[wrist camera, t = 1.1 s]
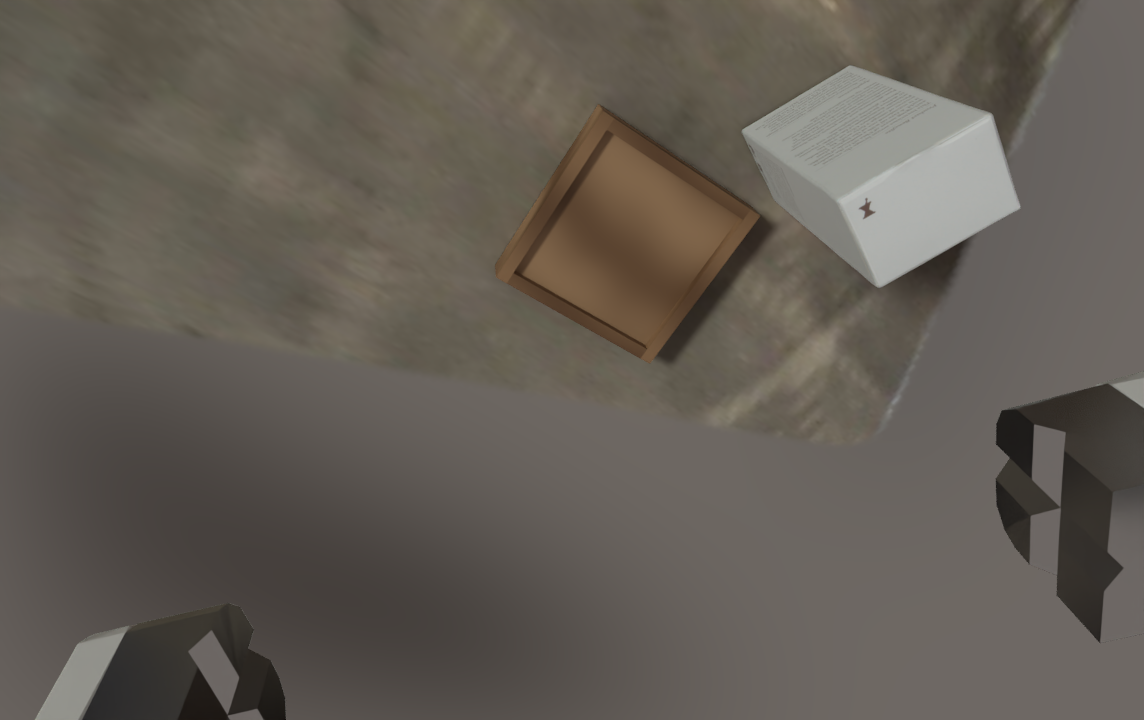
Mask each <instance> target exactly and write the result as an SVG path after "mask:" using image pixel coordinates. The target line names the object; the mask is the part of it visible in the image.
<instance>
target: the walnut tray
mask: <svg viewBox="0 0 1144 720" xmlns="http://www.w3.org/2000/svg"><path fill="white" fill-rule="evenodd" d="M759 217H760V215H759V214H758V213H757V212H756V211H755V210H754V209H753V208H752V207H751V206H750V205H748V204H747V203H745V202H744V201H742V200H741V199H739V198H738V197H736V196H735V195H733V194H732V193H730V192H729V191H727V190H726V189H724V188H723V187H721V186H720V185H719V184H717V183H716V182H714V181H713V180H711V179H710V178H708V177H707V176H705V175H704V174H702V173H701V172H699V171H698V170H696V169H695V168H693V167H692V166H690V165H689V164H687V163H686V162H684V161H683V160H681V159H680V158H678V157H677V156H675V155H674V154H672V153H671V152H669V151H668V150H666V149H665V148H663V147H662V146H660V145H659V144H657V143H656V142H654V141H653V140H651V139H650V138H648V137H647V136H645V135H644V134H642V133H641V132H639V131H638V130H636V129H635V128H633V127H632V126H630V125H629V124H627V123H626V122H625V121H623V120H622V119H620V118H619V117H617V116H616V115H614V114H613V113H611V112H610V111H608V110H607V109H605V108H604V107H602V106H601V105H599V104H598V105H597V107H596V108H595V110H594V112H593V113H592V115H591V116H590V118H589V119H588V121H587V122H586V124H585V126H584V127H583V129H582V130H581V132H580V133H579V135H578V137H577V138H576V140H575V141H574V143H573V144H572V146H571V147H570V149H569V151H568V152H567V154H566V155H565V157H564V158H563V160H562V161H561V163H560V165H559V166H558V168H557V169H556V171H555V172H554V174H553V175H552V177H551V179H550V180H549V182H548V183H547V185H546V186H545V188H544V190H543V191H542V193H541V194H540V196H539V197H538V199H537V200H536V202H535V204H534V205H533V207H532V208H531V210H530V211H529V213H528V214H527V216H526V218H525V219H524V221H523V222H522V224H521V225H520V227H519V229H518V230H517V232H516V233H515V235H514V236H513V238H512V239H511V241H510V243H509V244H508V246H507V247H506V249H505V250H504V252H503V253H502V255H501V257H500V258H499V260H498V261H497V263H496V264H495V269H496V277H497V278H498V279H500V280H502V281H504V282H505V283H507V284H509V285H511V286H513V287H514V288H516V289H518V290H520V291H521V292H523V293H525V294H527V295H529V296H530V297H532V298H534V299H536V300H537V301H539V302H541V303H543V304H545V305H546V306H548V307H550V308H552V309H553V310H555V311H557V312H559V313H561V314H562V315H564V316H566V317H568V318H569V319H571V320H573V321H575V322H577V323H578V324H580V325H582V326H584V327H585V328H587V329H589V330H591V331H593V332H594V333H596V334H598V335H600V336H601V337H603V338H605V339H607V340H609V341H610V342H612V343H614V344H616V345H617V346H619V347H621V348H623V349H624V350H626V351H628V352H630V353H632V354H633V355H635V356H637V357H639V358H640V359H642V360H644V361H646V362H648V363H649V364H650V363H651V361H652V360H653V359H654V357H655V356H656V355H657V353H658V352H659V351H660V349H661V348H662V347H663V345H664V344H665V343H666V341H667V340H668V339H669V337H670V336H671V335H672V333H673V332H674V331H675V329H676V328H677V327H678V325H679V324H680V323H681V321H682V320H683V319H684V317H685V316H686V315H687V313H688V312H689V311H690V309H691V308H692V307H693V305H694V304H695V303H696V301H697V300H698V299H699V297H700V296H701V295H702V293H703V292H704V291H705V289H706V288H707V287H708V285H709V284H710V283H711V281H712V280H713V279H714V277H715V276H716V275H717V273H718V272H719V271H720V269H721V268H722V267H723V265H724V264H725V263H726V261H727V260H728V259H729V257H730V256H731V255H732V253H733V252H734V251H735V249H736V248H737V247H738V245H739V244H740V243H741V241H742V240H743V239H744V237H745V236H746V235H747V233H748V232H749V231H750V229H751V228H752V227H753V225H754V224H755V223H756V221H757V220H758V219H759Z"/></svg>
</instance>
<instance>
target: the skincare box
mask: <svg viewBox="0 0 1144 720" xmlns="http://www.w3.org/2000/svg"><path fill="white" fill-rule="evenodd" d="M742 134H743V136H744V138H745V140H746V142H747V144H748V146H749V149H750V151H751V153H752V155H753V157H754V160H755V162H756V164H757V166H758V168H759V170H760V172H761V174H762V176H763V178H764V180H765V182H766V184H767V186H768V188H769V190H770V192H771V194H772V197H773V199H774V200H775V202H777V203H778V204H779V205H780V206H781V207H783V208H784V209H785V210H786V211H787V212H788V213H789V214H791V215H792V216H793V217H794V218H795V219H797V220H798V221H799V222H800V223H801V224H802V225H804V226H805V227H806V228H807V229H808V230H810V231H811V232H812V233H813V234H814V235H815V236H817V237H818V238H819V239H820V240H821V241H822V242H824V243H825V244H826V245H827V246H828V247H830V248H831V249H832V250H833V251H834V252H836V253H837V254H838V255H839V256H840V257H841V258H843V259H844V260H845V261H846V262H847V263H848V264H850V265H851V266H852V267H853V268H855V269H856V270H857V271H858V272H859V273H860V274H862V275H863V276H864V277H865V278H866V279H867V280H869V281H870V282H871V283H872V284H873V285H875V286H876V287H878V288H881V287H883V286H885V285H886V284H888V283H890V282H892V281H893V280H895V279H897V278H899V277H901V276H902V275H904V274H906V273H908V272H909V271H911V270H913V269H915V268H917V267H918V266H920V265H922V264H924V263H925V262H927V261H929V260H931V259H932V258H934V257H936V256H938V255H939V254H941V253H943V252H944V251H946V250H948V249H950V248H951V247H953V246H955V245H957V244H958V243H960V242H962V241H964V240H965V239H967V238H969V237H971V236H972V235H974V234H976V233H978V232H980V231H981V230H983V229H985V228H987V227H988V226H990V225H992V224H994V223H995V222H997V221H999V220H1001V219H1003V218H1004V217H1006V216H1008V215H1010V214H1011V213H1014V212H1016V211H1018V210H1019V209H1020V208H1021V207H1020V203H1019V200H1018V197H1017V194H1016V191H1015V187H1014V184H1013V180H1012V177H1011V173H1010V170H1009V167H1008V163H1007V160H1006V157H1005V153H1004V150H1003V147H1002V144H1001V140H1000V137H999V134H998V130H997V127H996V124H995V121H994V117H993V115H992V114H991V113H989V112H986V111H983V110H980V109H977V108H974V107H971V106H967V105H965V104H962V103H959V102H956V101H953V100H950V99H947V98H944V97H941V96H938V95H936V94H933V93H930V92H927V91H924V90H922V89H919V88H916V87H913V86H910V85H907V84H904V83H901V82H899V81H896V80H893V79H890V78H887V77H884V76H881V75H879V74H876V73H873V72H870V71H867V70H864V69H862V68H859V67H856V66H851V65H850V66H848V67H846V68H845V69H843V70H841V71H840V72H838V73H836V74H835V75H833V76H831V77H830V78H828V79H826V80H825V81H823V82H821V83H820V84H818V85H816V86H815V87H813V88H811V89H810V90H808V91H806V92H805V93H803V94H801V95H799V96H798V97H796V98H794V99H793V100H791V101H790V102H788V103H786V104H785V105H783V106H781V107H780V108H778V109H776V110H775V111H773V112H771V113H770V114H768V115H766V116H765V117H763V118H761V119H760V120H758V121H756V122H754V123H753V124H751V125H749V126H748V127H746V128H744V129H743V130H742Z"/></svg>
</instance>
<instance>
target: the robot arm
mask: <svg viewBox="0 0 1144 720" xmlns="http://www.w3.org/2000/svg"><path fill="white" fill-rule="evenodd" d="M996 445H997V446H998V447H999V448H1000V449H1001V450H1002V451H1003V452H1004V453H1005V454H1006V455H1007V456H1008V457H1009V458H1010V459H1009V460H1008V462H1007V463H1006V465H1005V466H1004V468H1003V469H1002V471H1001V472H1000V473H999V475H998V476H997V478H996V502H997V508H998V511H999V514H1000V517H1001V520H1002V523H1003V526H1004V530H1005V531H1006V533H1007V535H1008V536H1009V538H1010V540H1011V542H1012V543H1013V545H1014V547H1015V548H1016V549H1017V551H1018V552H1019V553H1020V554H1021V555H1022V556H1023V558H1024V559H1025V560H1026V561H1027V562H1028V563H1029V564H1030V565H1032V566H1034V567H1037V568H1039V569H1042V570H1044V571H1047V572H1049V573H1052V574H1054V575H1057V596H1058V597H1059V598H1060V599H1061V601H1062V602H1063V603H1064V604H1065V605H1066V606H1067V607H1068V608H1069V609H1070V610H1071V611H1072V613H1073V614H1074V615H1075V616H1076V617H1077V618H1078V619H1079V620H1080V622H1081V623H1082V624H1083V625H1084V626H1085V627H1086V628H1087V629H1088V630H1089V631H1090V633H1091V634H1092V635H1093V636H1094V637H1095V638H1096V639H1097V640H1098V642H1099V643H1104V642H1108V641H1113V640H1117V639H1122V638H1127V637H1131V636H1136V635H1140V634H1144V371H1143V372H1140V373H1136V374H1132V375H1128V376H1125V377H1121V378H1118V379H1114V380H1110V381H1107V382H1103V383H1100V384H1097V385H1096V386H1095V387H1091V388H1087V389H1084V390H1079V391H1075V392H1071V393H1067V394H1064V395H1060V396H1056V397H1052V398H1048V399H1044V400H1040V401H1036V402H1032V403H1028V404H1024V405H1020V406H1016V407H1013V408H1009V409H1005V410H1002V411H1001V413H1000V416H999V418H998V421H997V423H996ZM253 631H254V629H253V627H252V626H251V624H250V623H249V621H248V619H247V618H246V616H245V614H244V612H243V611H242V609H241V608H240V607H239V606H236V605H233V604H230V603H226V604H222V605H217V606H213V607H209V608H204V609H200V610H195V611H191V612H187V613H182V614H178V615H173V616H169V617H165V618H160V619H156V620H151V621H147V622H142V623H138V624H137V625H134V626H127V627H123V628H118V629H114V630H110V631H106V632H102V633H98V634H94V635H91V636H89V637H88V638H86V639H85V640H83V641H81V642H80V643H78V644H77V646H76V648H75V650H74V651H73V653H72V655H71V657H70V659H69V660H68V662H67V664H66V666H65V667H64V669H63V671H62V673H61V675H60V676H59V678H58V680H57V682H56V683H55V685H54V687H53V689H52V690H51V692H50V694H49V696H48V698H47V699H46V701H45V703H44V705H43V706H42V708H41V710H40V712H39V714H38V715H37V717H36V719H35V720H286V707H285V696H284V692H283V689H282V685H281V682H280V678H279V676H278V674H277V672H276V670H275V668H274V666H273V664H272V662H271V660H269V659H267V658H265V657H263V656H261V655H259V654H258V653H255V652H254V651H252V650H250V649H248V647H249V644H250V641H251V638H252V634H253Z"/></svg>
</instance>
